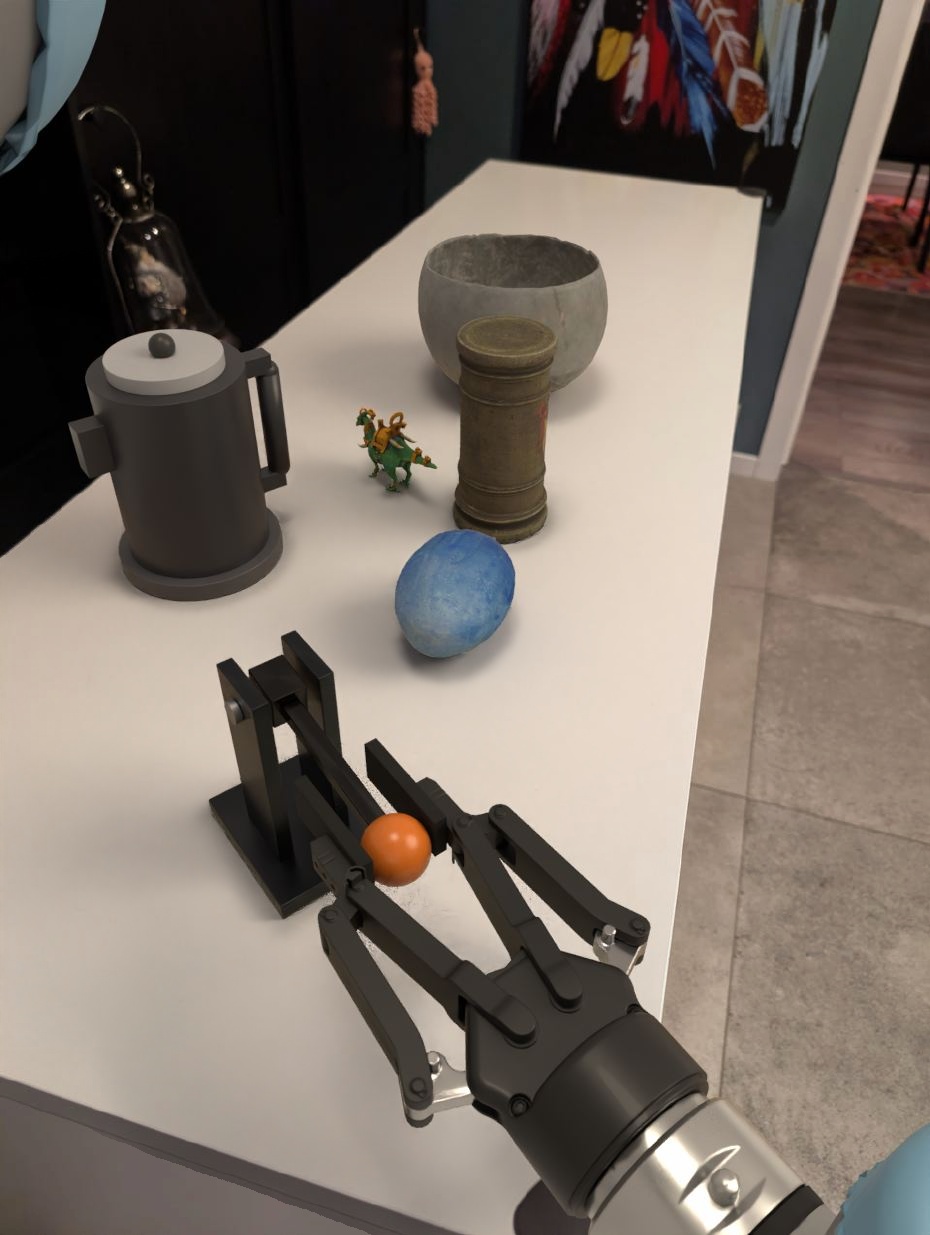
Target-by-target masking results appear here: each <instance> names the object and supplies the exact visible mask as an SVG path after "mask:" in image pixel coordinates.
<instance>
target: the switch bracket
mask: <svg viewBox="0 0 930 1235" xmlns="http://www.w3.org/2000/svg"><path fill="white" fill-rule="evenodd" d="M280 642H281V649H282V655H283V656H284V657H285V658H286V659H287V661H288V662H289V663H290V665H291V666H292V667H293V669H294V670H295V671H296V672H297V674H298V675H299V676H300V678H301V679H302V680H303V682H304V683H305V684H306V686H307V700H308V711H309V713H310V714H311V715H312V717H313V718H314V719H315V721H316V722H317V723H318V725H319V726H320V727H321V729H322V730H323V731H324V733H325V734H326V735H327V737H328V738H329V739H330V741H331V742H332V743H333V745H334V746H335V747H336V749H337V750H338V751H339V753H340V754H341V755H342V757H343V758H344V755H343V747H342V738H341V729H340V728H341V727H340V719H339V708H338V701H337V691H336V690H337V689H336V681H335V672H334V671H333V669H331V668H330V666H329V665H328V664H327V663H326V662H325V660H323V658H321V656H320V655H319V654H317V652H316V651H315V650H314V649H313V647H312V646H310V644H309V643H308V642H307V641H306V640H305V639H304V638H303V637H302V636H301V634H299V632H298V631H297V630H292V631H289V632H287V633H285V634H282V635H281V636H280ZM215 666H216V672H217V676H218V680H219V686H220V691H221V694H222V695H221V696H222V699H223V705H224V706H223V707H224V709H225V713H226V717H227V722H228V728H229V731H230V732H229V733H230V736H231V741H232V746H233V750H234V755H235V760H236V765H237V770H238V774H239V779H240V783H238V784H237V785H236V784H235V785H234V786H232V787H230V788H228V789H226V790H224V791H222V792H221V793H218V794H216V795H214V796H213V797H211V798H209V799H208V804H209V807H210V812H211V813H212V815H213V816H214V818H215V819H216V821H217V822H218V824H219V826H220V828H222V830H223V831H224V833H225V834H226V836H227V837H228V839H229V841H230V842H231V843H232V845H233V846H234V848H235V849H236V851H237V852H238V854H239V855H240V857H241V858H242V860H243V861H244V863H245V865H246V866H247V867H248V869H249V871H250V872H251V873H252V875H253V876H254V878H255V879H256V881H257V883H258V884H259V885H260V887H261V888H262V889H263V891H264V894H266V896H267V897H268V899H269V900H270V901H271V903H272V905H273V907H275V909H276V910H277V912H278V914H279V915H280V917H281V918H282V919H285V918H288V917H289V916H291V915H293V914H294V913H296V912H298V911H299V910H301V909H303V908H304V907H306V906H309V905H310V904H311V903H313V902H315V901H317V900H318V899H320V898H321V897H323V896H324V895H327V894H328V893H331V891H330V889H329V888H328V887H327V885H326V884H325V882H324V881H323V880H322V878H321V877H320V876H319V874H318V873H317V872H316V870H315V869H314V865H313V859H312V853H311V846H310V842H311V841H313V840H315V839H316V838H315V837H314V835H313V834H312V833H311V831H310V830H309V829H308V827H307V826H306V825H305V823H304V822H303V821H302V819H301V818H300V817H299V815H298V813H297V807H296V801H295V795H294V789H293V783H292V781H294V780H296V779H298V778H300V777H301V776H303V775H306V776H307V778H308V779H309V780H310V781H311V783H312V784H313V785H314V787H315V788H316V789H317V790H318V792H319V793H320V794H321V795H322V797H323V798H324V799H325V800H326V802H327V803H328V804H329V805H330V807H331V808H332V809H333V811H334V812H335V813H336V814H337V816H338V817H339V818H340V819H341V821H342V822H343V823H344V824H345V826H346V827H347V828H348V829H349V831H350V832H351V833H352V835H353V836H354V837H355V838H356V840H357V841H358V842H359V843H360V842H361V838H362V836H363V834H364V832H365V830H364V828H363V827H362V825H361V824H360V823H359V821H358V820H357V819H356V817H355V816H354V814H353V813H352V812H351V810H350V809H349V808H348V806H347V805H346V803H345V802H344V801H343V799H342V798H341V797H340V795H339V794H338V792H337V791H336V790H335V788H334V787H333V786H332V784H331V783H330V781H329V780H328V779H327V777H326V776H325V775H324V773H323V772H322V770H321V769H320V768H319V766H318V765H317V764H316V762H315V761H314V759H313V758H312V757H311V755H310V754H309V753H308V751H307V750H306V748H305V747H304V746H303V744H302V743H301V742H300V740H299V739H298V737H297V736H296V735H295V734H294V737H295V742H296V747H297V748H296V749H297V754H296V755H294V756H292V757H289V758H288V759H286V760H284V761H282V762H280V761H279V755H278V750H277V744H276V743H277V742H276V738H275V732H274V727H273V725H272V719H271V714H270V708H269V703H268V701H267V700H266V699H265V698H264V696H263V695H262V694H261V693H260V691H259V690H258V689H257V688H256V686H255V685H254V684H253V683H252V682H251V680H250V679H249V676H248V675H247V674H246V673H245V672H244V670H243V669H242V668H241V667H240V665H239V664H238V663H237V662H236V660H235V659H234V658H233V657H230V658H227V659H225V660H222V661H220V662H217V663H216V665H215Z"/></svg>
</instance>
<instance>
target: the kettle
mask: <svg viewBox="0 0 930 1235" xmlns="http://www.w3.org/2000/svg"><path fill="white" fill-rule="evenodd" d="M84 378H85V379H84V380H85V384H86V388H87V392H88V395H89V396H88V397H89V399H90V403H91V407H92V411H93V415H91V416H87V417H83V418H80V419H77V420H73V421H69V422H68V427H69V431H70V434H71V438H72V442H73V445H74V448H75V452H76V456H77V459H78V463H79V467H80V468H81V469H82V471H83V472H84V474H86V476H87V477H88V479H93V478H96V477H99V476H103V475H106V474H110V478H111V482H112V486H113V490H114V494H115V497H116V501H117V506H118V509H119V512H120V517H121V519H122V520H121V521H122V523H123V527H124V531H123V533H122V534H121V536H120V539H119V542H118V556H119V560H120V564H121V567H122V570H123V573H124V575H125V577H126V578H127V580H128V581H129V582H130V583H131V584H132V585H133V586H134V587H136V588H137V589H138V590H140V591H141V592H144V593H146V594H148V595H151V596H153V597H156V598H159V599H160V598H162V599H165V600H171V601H180V602H182V601H184V602H190V601H191V602H195V601H205V600H211V599H212V600H213V599H217V598H221V597H226V596H229V595H232V594H234V593H238V592H241V591H242V590H245V589H247V588H249V587H250V586H252V585H254V584H256V583H258V582H260V581H261V580H262V579H263V578H264V577H266V576H267V575H268V574H269V573H270V572H271V571H272V570H273V569H274V568H275V567H276V565H277V563H278V562H279V560H280V558H281V556H282V553H283V548H284V543H283V542H284V540H283V533H282V526H281V523H280V521H279V519H278V516H276V514H275V513H274V512H273V510H271V509H270V508H268V507H267V502H266V501H267V500H266V495H265V494H266V493H268V492H272V491H274V490H277V489H280V488H283V487H286V486H288V480H287V474H288V473H289V471H290V469H291V459H290V458H291V456H290V449H289V441H288V434H287V426H286V417H285V409H284V400H283V392H282V383H281V376H280V368H279V366H278V364H277V363H276V362H275V361H274V360H272V355H271V353H270V352H269V351H267V350H266V349H264V347H257V348H254V349H250V350H247V351H243V352H240V350H239V349H238V348H236V347H234V346H233V345H231V344H229V343H227V342H225V341H222V340H218V339H217V338H216V337H214V336H213V335H212V334H211V335H210V334H209V333H205V332H202V331H197V330H193V329H184V328H183V329H182V328H168V329H158V330H150V331H146V332H145V331H144V332H140V333H137V334H134V335H131V336H128V337H126V338H123V339H121V340H119V341H117V342H116V343H114V344H112V345H111V346H110V347H109V348H107V350H106V351H105V352H104V353H103V354H102V355H100V356H99V357H97V358H96V359H95V360H94V361H92V362H91V364H90V365H89V366H88V368H87V370H86V373H85V376H84ZM253 378H255V383H256V384H255V385H256V392H257V400H258V406H259V407H258V408H259V414H260V421H261V428H262V435H263V442H264V449H265V450H264V451H265V458H266V463H267V464H266V466H262V467H261V461H260V460H261V459H260V455H259V447H258V440H257V433H256V426H255V421H254V420H255V418H254V412H253V406H252V399H251V393H250V392H251V391H250V386H249V385H250V384H249V379H253Z"/></svg>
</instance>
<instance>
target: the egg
mask: <svg viewBox="0 0 930 1235" xmlns="http://www.w3.org/2000/svg"><path fill="white" fill-rule="evenodd" d="M496 532H497V530H496ZM515 588H516V571H515V566H514V563H513V560H512V558H511V557H510V555H509V553H508V551H506V549H505V548H504V547H503V546H502V545H501V543H498V542H497V541H496V538H495V537H490V536H488V535H485V534H483V533H481V532H478V531H474V530H468V529H464V530H462V529H452V530H445V531H443V532H439V533H437V534H435V535H434V536H432V537H431V538H430V539H428V540H427V541H426V542H424V544H422V545H421V546H420V547H419V548H418V549H416V550H415V551H414V552H413V553H412V554H411V556H410V557H409V558H408V559H407V561H406V562H405V564H404V566H403V568H402V569H401V572H400V574H399V576H398V578H397V580H396V585H395V589H394V612H395V616H396V620H397V622H398V625H399V626H400V628H401V631H403V634H404V635H405V636H404V637H405V638H406V640H407V641H408V642H409V644H410V645H411V646H412V647H413V648H414V649H415V651H417V652H419V653H421V654H423V655H426V656H428V657H432V658H438V659H439V658H441V659H443V658H450V657H454V656H457V655H461V654H464V653H467V652H468V651H471V650H472V649H474V648H476V647H477V646H479V645H481V644H482V643H484V642H485V641H487V640H488V639H489V638H490V637H491V636H492V635H493V634H494V633H495V632H497V629H498V628H499V627H500V626H501V625H502V623H503V622H504V620H505V618H507V615H508V614H509V611H510V610H511V607H512V604H513V599H514V597H515V590H516V589H515Z"/></svg>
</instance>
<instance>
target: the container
mask: <svg viewBox="0 0 930 1235" xmlns="http://www.w3.org/2000/svg"><path fill="white" fill-rule="evenodd" d="M455 344H456V349H457V351H458V352H459V356H458V358H459V361H460V364H461V376H460V378H459V385H458V386H459V404H460V405H459V407H460V408H459V415H460V416H459V459H458V461H457V465H456V466H457V474H458V478H457V479H458V481H457V482H458V483H457V485H456V487H455V489H454V494H453V495H454V501H453V505H452V514H453V518H454V521H455V523H456V525H457V526H458V527H459V528H460V530H464V529H468V530H474V531H478V532H481V533H483V534H485V535H488V536H490V537H495V538H496V541H497V542H498V543H499V544H507V543H514V542H519V541H522V540H525V539H528V538H530V537H532V536H533V535H535V534H536V533H538V532H539V531H540V530H541V529H542V527H543V526H544V524H545V523H546V520H547V516H548V512H549V511H548V510H549V509H548V504H547V500H548V492H547V490H546V487H545V476H546V472H547V467H546V466H547V465H546V461H545V458H546V457H545V456H546V442H547V428H548V419H549V418H548V416H549V400H550V393H549V391H550V389H551V380H550V369H551V367H552V364H553V362H554V355H555V353H556V351H557V349H558V339H557V336H556V333H555V332H554V330H553V329H552V328H551V327H549V326H548V325H546V324H544V323H542V322H540V321H537V320H534V319H531V318H526V317H520V316H509V315H498V316H488V317H482V318H479V319H475V320H473V321H470V322H468V323H467V324H465V325H464V326H462V327H461V329H460V330H459V331H458V334H457V336H456V341H455ZM496 530H497V532H496Z"/></svg>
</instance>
